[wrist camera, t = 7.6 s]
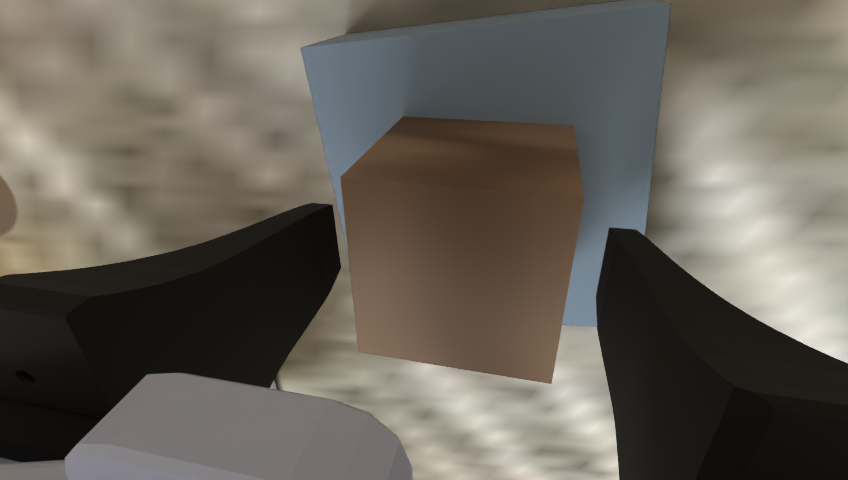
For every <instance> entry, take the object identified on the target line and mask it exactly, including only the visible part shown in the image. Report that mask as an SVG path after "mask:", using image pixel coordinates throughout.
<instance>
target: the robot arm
mask: <svg viewBox="0 0 848 480" xmlns="http://www.w3.org/2000/svg"><path fill="white" fill-rule="evenodd" d="M340 269H341V264H340V257H339V250H338V242H337V235H336V228H335V220H334V213H333V205H329V204H317V203H311V204H306V205H303V206H300V207H297V208H294V209H291V210H289V211H286V212H283V213H281V214H278V215H276V216H273V217H271V218H268V219H266V220H263V221H261V222H259V223H256V224H254V225H251V226H249V227H246V228H243V229H240V230H238V231H235V232H232V233H230V234H227V235H224V236H221V237H219V238H216V239H213V240H210V241H207V242H204V243H201V244H198V245H194V246H191V247H187V248H183V249H180V250H176V251H172V252H169V253H164V254H159V255H155V256H150V257H146V258H141V259H136V260H132V261H127V262H121V263H115V264H109V265H102V266H95V267H88V268H80V269H72V270H63V271H51V272H39V273H27V274H12V275H5V276H2V277H0V480H413V473H412V466H411V464H410V462H409V460H408V457H407V455H406V453H405V450H404V448H403V446H402V444H401V441H400V440H399V438H398V437H397V436H396V435H395V434H394V433H393V432H392V431H391V430H389V429H388V428H387V427H386V426H385V425H383V424H382V423H381V422H380V421H379V420H377V419H376V418H375V417H374V416H372V415H371V414H370V413H369V412H366V411H363V410H361V409H358V408H355V407H352V406H350V405H347V404H344V403H342V402H339V401H336V400H333V399H327V398H321V397H316V396H310V395H305V394H299V393H293V392H288V391H282V390H277V388H276V384H275V381H274V379H275V377H276V375H277V373H278V371H279V369H280V368H281V366H282V364H283V363H284V361H285V360H286V358H287V356H288V355H289V353H290V352H291V350H292V349H293V347H294V346H295V344H296V343H297V341H298V340H299V338H300V337H301V335H302V334H303V332H304V331H305V330H306V328H307V327H308V325H309V324H310V322H311V321H312V319H313V318H314V316H315V315H316V313H317V312H318V310H319V309H320V307H321V306H322V304H323V303H324V301H325V300H326V298H327V296H328V295H329V293H330V291H331V289H332V286H333V284H334V282H335V280H336V278H337V275H338V273H339V271H340ZM596 314H597V330H598V336H599V341H600V346H601V351H602V356H603V361H604V366H605V371H606V376H607V381H608V386H609V391H610V396H611V401H612V406H613V413H614V419H615V428H616V440H617V452H618V465H619V479H620V480H848V363H845V362H843V361H840V360H838V359H836V358H833V357H831V356H829V355H826V354H824V353H822V352H820V351H818V350H815V349H813V348H811V347H809V346H807V345H805V344H803V343H801V342H799V341H797V340H795V339H793V338H791V337H789V336H787V335H785V334H783V333H781V332H779V331H777V330H775V329H773V328H771V327H769V326H768V325H766V324H764V323H762V322H760V321H758V320H757V319H755V318H753V317H752V316H750V315H748V314H747V313H745V312H743V311H742V310H740V309H739V308H737V307H735V306H734V305H732V304H730V303H729V302H727V301H726V300H724V299H723V298H721V297H720V296H718V295H717V294H715V293H714V292H713V291H711V290H710V289H709V288H707V287H706V286H704V285H703V284H702V283H700V282H699V281H698V280H696V279H695V278H694V277H692V276H691V275H690V274H689V273H687V272H686V271H685V270H684V269H682V268H681V267H680V266H679V265H677V264H676V263H675V262H674V261H673V260H671V259H670V258H669V257H668V256H667V255H666V254H664V253H663V252H662V251H661V250H660V249H659V248H658V247H657V246H655V245H654V244H653V243H652V242H651V241H650V240H649V239H647V238H646V237H645V236H644V235H643V234H641V233H640V232H639V231H638V230H636V229H623V228H611V227H609V230H608V236H607V241H606V246H605V251H604V256H603V261H602V267H601V272H600V277H599V282H598V287H597V292H596Z"/></svg>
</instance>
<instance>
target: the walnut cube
mask: <svg viewBox="0 0 848 480" xmlns="http://www.w3.org/2000/svg"><path fill="white" fill-rule="evenodd" d="M340 179H341V189H342V198H343V208H344V217H345V227H346V236H347V246H348V255H349V265H350V274H351V284H352V293H353V302H354V312H355V321H356V331H357V340H358V350H359V352H361V353H368V354H374V355H380V356H386V357H392V358H398V359H404V360H410V361H416V362H422V363H428V364H434V365H440V366H446V367H452V368H458V369H465V370H471V371H477V372H483V373H489V374H495V375H501V376H507V377H513V378H519V379H525V380H531V381H537V382H543V383H549V384H551V383H552V377H553V372H554V366H555V360H556V355H557V349H558V343H559V338H560V332H561V327H562V321H563V315H564V310H565V304H566V298H567V293H568V287H569V282H570V276H571V270H572V265H573V259H574V254H575V248H576V242H577V237H578V231H579V225H580V220H581V214H582V209H583V203H584V191H583V185H582V178H581V171H580V165H579V158H578V152H577V145H576V139H575V132H574V125H555V124H537V123H518V122H500V121H481V120H463V119H445V118H426V117H408V116H403V117H402V118H401V119H400V120H399V121H398V122H397V123H396V124H394V125H393V126H392V127H391V128H390V129H389V130H388V131H387V132H386V133H385V134H384V135H383V136H382V137H381V138H380V139H379V140H378V141H377V142H376V143H375V144H374V145H373V146H372V147H371V148H370V149H369V150H368V151H367V152H366V153H365V154H363V155H362V156H361V157H360V158H359V159H358V160H357V161H356V162H355V163H354V164H353V165H352V166H351V167H350V168H349V169H348V170H347V171H346V172H345V173H344V174H343V175H342V176H341V177H340Z"/></svg>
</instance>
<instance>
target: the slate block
mask: <svg viewBox="0 0 848 480" xmlns="http://www.w3.org/2000/svg"><path fill="white" fill-rule="evenodd" d="M670 7H671V4H668V3H664V2H661V1H657V0H621V1H613V2H604V3H596V4H588V5H580V6H572V7H564V8H555V9H547V10H539V11H531V12H523V13H515V14H507V15H498V16H490V17H482V18H474V19H466V20H458V21H449V22H441V23H433V24H425V25H417V26H409V27H400V28H392V29H384V30H376V31H368V32H360V33H351V34H345V35H341V36H338V37H335V38H331V39H328V40H325V41H321V42H318V43H315V44H311V45H308V46H305V47H301V52H302V56H303V61H304V65H305V69H306V74H307V78H308V82H309V86H310V91H311V95H312V99H313V104H314V108H315V112H316V116H317V121H318V125H319V129H320V133H321V138H322V142H323V146H324V151H325V155H326V159H327V163H328V168H329V172H330V176H331V181H332V185H333V189H334V193H335V198H336V202H337V206H338V210H339V215H340V219H341V223H342V228H343V232H344V236H345V240H346V245H347V236H346V227H345V217H344V208H343V198H342V189H341V179H340V177H341V176H342V175H343V174H344V173H345V172H346V171H347V170H348V169H349V168H350V167H351V166H352V165H353V164H354V163H355V162H356V161H357V160H358V159H359V158H360V157H361V156H362V155H363V154H365V153H366V152H367V151H368V150H369V149H370V148H371V147H372V146H373V145H374V144H375V143H376V142H377V141H378V140H379V139H380V138H381V137H382V136H383V135H384V134H385V133H386V132H387V131H388V130H389V129H390V128H391V127H392V126H393V125H394V124H396V123H397V122H398V121H399V120H400V119H401V118H402V117H403V116H408V117H426V118H445V119H463V120H481V121H500V122H518V123H537V124H555V125H574V132H575V139H576V145H577V152H578V158H579V165H580V171H581V178H582V185H583V191H584V203H583V209H582V214H581V220H580V225H579V231H578V237H577V242H576V248H575V254H574V259H573V265H572V270H571V276H570V282H569V287H568V293H567V298H566V304H565V310H564V315H563V321H562V325H570V326H590V327H597V314H596V292H597V287H598V282H599V277H600V272H601V267H602V261H603V256H604V251H605V246H606V241H607V236H608V230H609V227H611V228H623V229H636V230H638V231H639V232H640V233H641V234H643V235H644V236H645V229H646V220H647V211H648V202H649V193H650V184H651V175H652V167H653V158H654V149H655V140H656V131H657V122H658V113H659V105H660V96H661V87H662V78H663V69H664V60H665V51H666V43H667V34H668V25H669V16H670ZM347 249H348V246H347Z"/></svg>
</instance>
